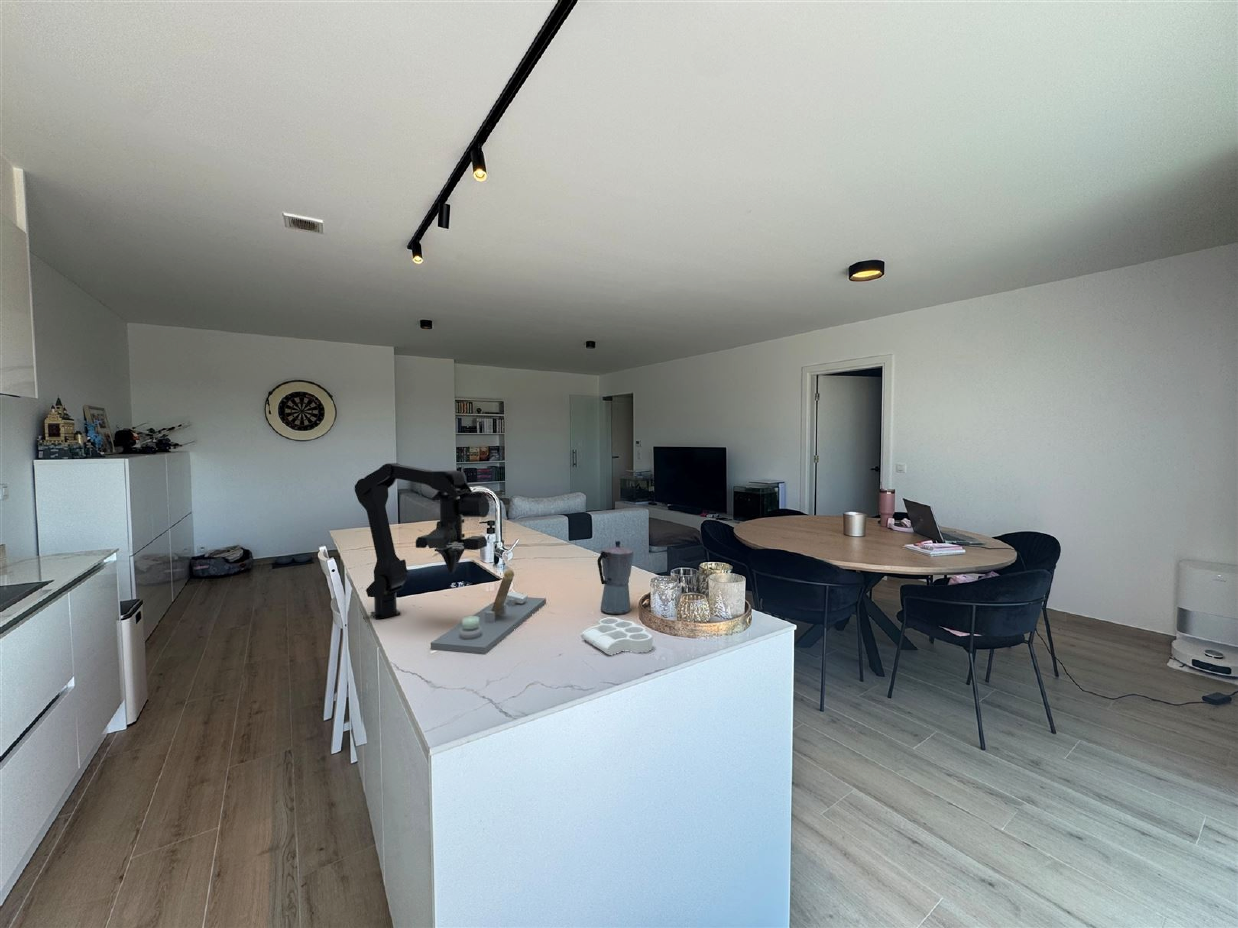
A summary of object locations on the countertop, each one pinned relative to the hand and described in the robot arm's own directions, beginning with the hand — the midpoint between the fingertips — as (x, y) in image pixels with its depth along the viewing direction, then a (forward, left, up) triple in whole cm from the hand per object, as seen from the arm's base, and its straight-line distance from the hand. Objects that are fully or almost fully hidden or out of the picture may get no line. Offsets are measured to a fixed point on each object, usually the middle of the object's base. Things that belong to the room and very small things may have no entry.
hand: (451, 573), depth 135 cm
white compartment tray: (+41, +25, -14) cm, 50 cm away
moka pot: (+23, +39, -13) cm, 47 cm away
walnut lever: (+10, +8, -10) cm, 16 cm away
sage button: (+18, -2, -10) cm, 21 cm away
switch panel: (+10, +8, -13) cm, 18 cm away
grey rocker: (+2, +18, -10) cm, 21 cm away
